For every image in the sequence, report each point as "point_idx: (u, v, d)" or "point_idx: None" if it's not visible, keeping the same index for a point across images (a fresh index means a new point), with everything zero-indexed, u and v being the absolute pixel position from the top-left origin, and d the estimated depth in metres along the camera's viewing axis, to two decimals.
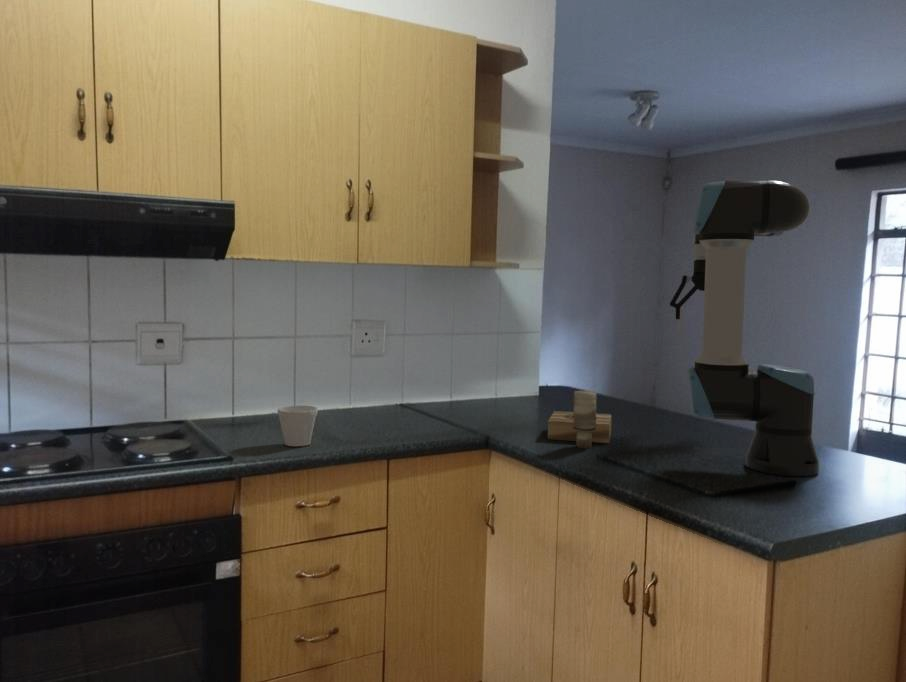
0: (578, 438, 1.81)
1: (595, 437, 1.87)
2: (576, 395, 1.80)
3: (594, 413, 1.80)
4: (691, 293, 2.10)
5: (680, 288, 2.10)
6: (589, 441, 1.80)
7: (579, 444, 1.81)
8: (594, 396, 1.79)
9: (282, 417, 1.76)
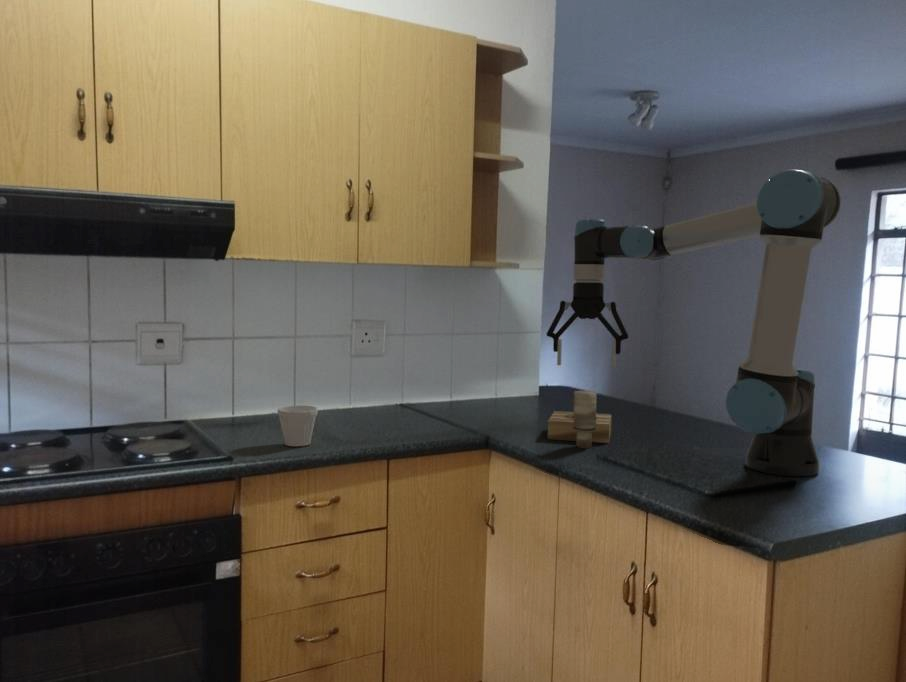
0: (578, 438, 1.81)
1: (595, 437, 1.87)
2: (576, 395, 1.80)
3: (594, 413, 1.80)
4: (570, 321, 1.80)
5: (557, 316, 1.80)
6: (589, 441, 1.80)
7: (579, 444, 1.81)
8: (594, 396, 1.79)
9: (282, 417, 1.76)
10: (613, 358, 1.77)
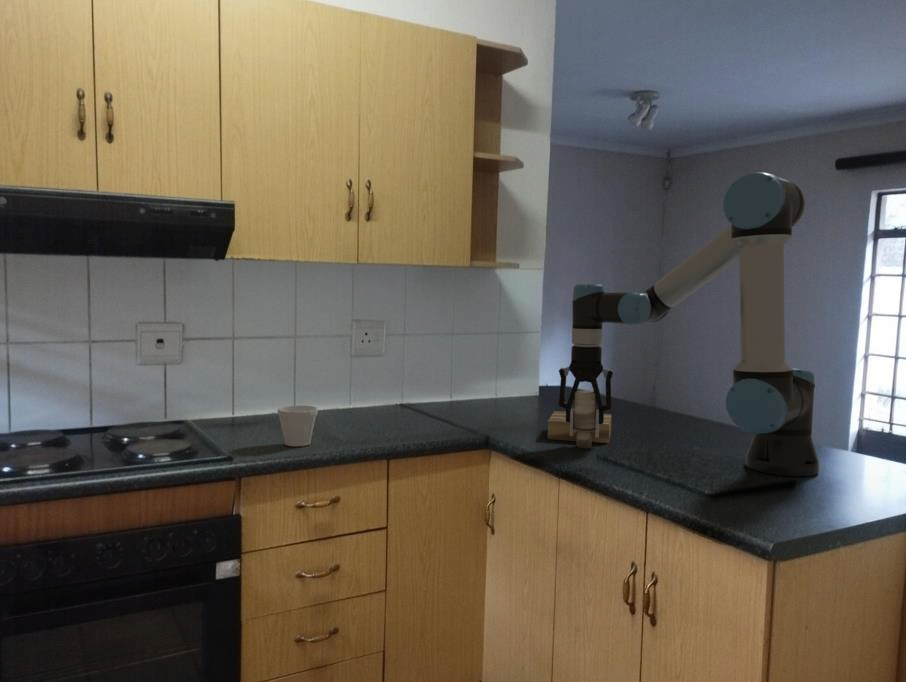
0: (578, 438, 1.81)
1: (595, 437, 1.87)
2: (576, 395, 1.80)
3: (594, 413, 1.80)
4: (575, 388, 1.80)
5: (562, 384, 1.81)
6: (589, 441, 1.80)
7: (579, 444, 1.81)
8: (594, 396, 1.79)
9: (282, 417, 1.76)
10: (596, 428, 1.80)
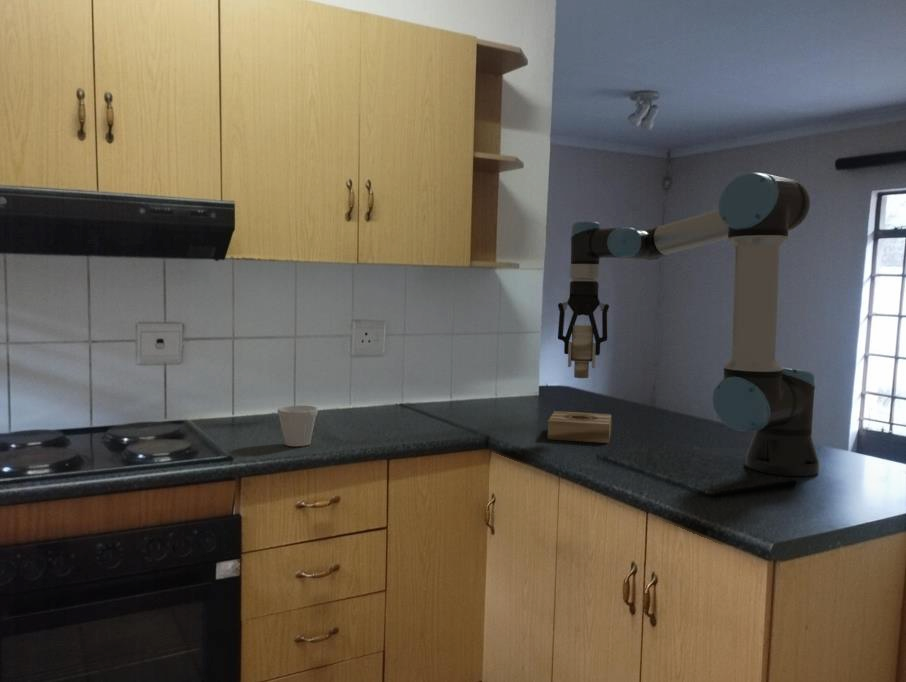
0: (576, 369, 1.91)
1: (595, 437, 1.87)
2: (574, 328, 1.89)
3: (591, 345, 1.89)
4: (573, 321, 1.90)
5: (561, 318, 1.91)
6: (586, 371, 1.90)
7: (576, 375, 1.91)
8: (591, 328, 1.89)
9: (282, 417, 1.76)
10: (593, 359, 1.90)
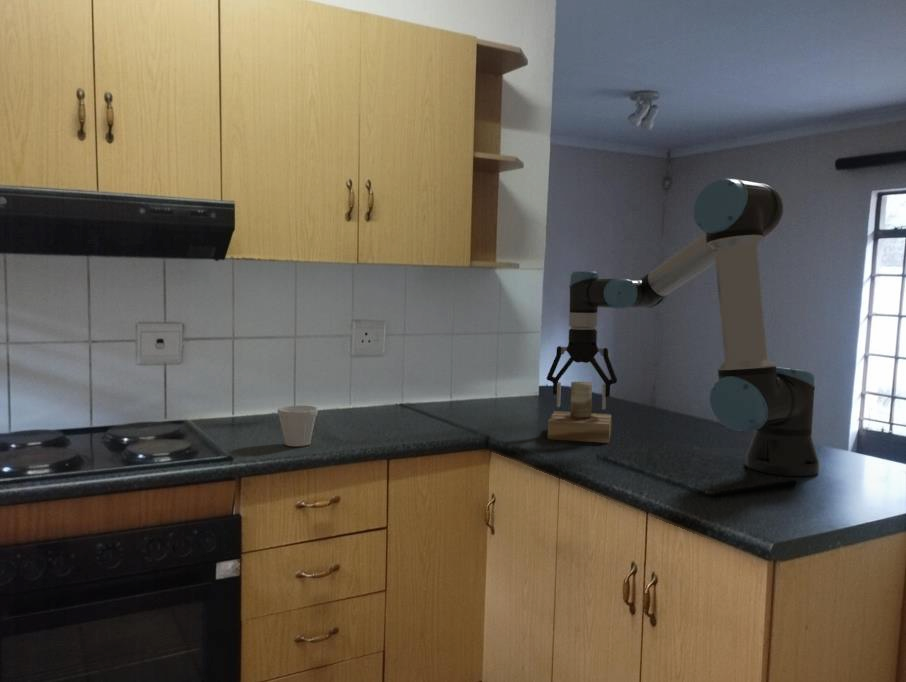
0: None
1: (595, 437, 1.87)
2: (573, 385, 1.93)
3: (590, 402, 1.93)
4: (567, 366, 1.94)
5: (555, 360, 1.95)
6: None
7: None
8: (590, 386, 1.93)
9: (282, 417, 1.76)
10: (603, 401, 1.92)
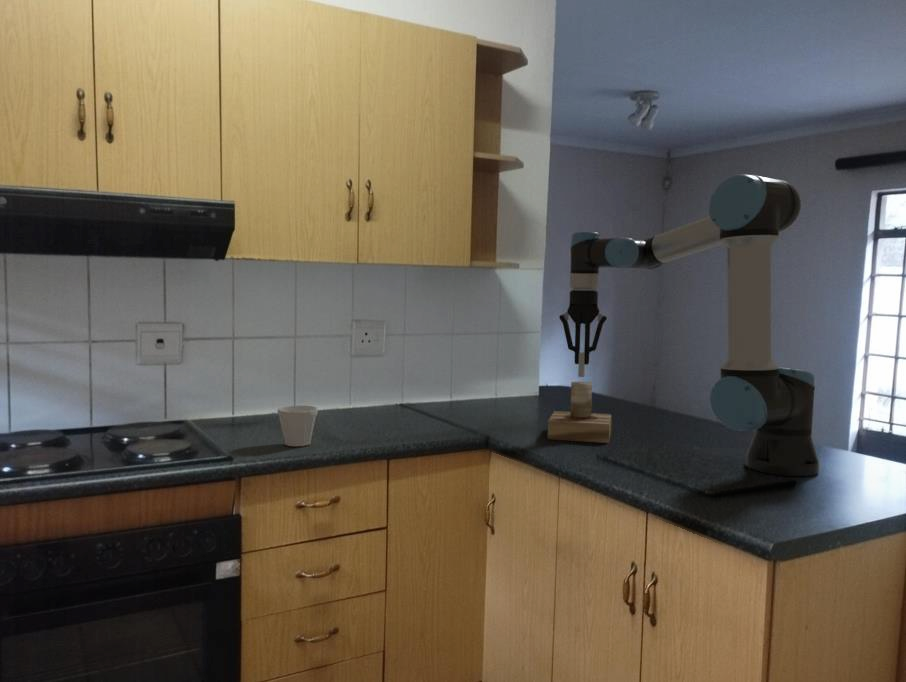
0: None
1: (595, 437, 1.87)
2: (573, 385, 1.93)
3: (590, 402, 1.93)
4: (578, 330, 1.92)
5: (565, 329, 1.93)
6: None
7: None
8: (590, 386, 1.93)
9: (282, 417, 1.76)
10: (582, 368, 1.93)
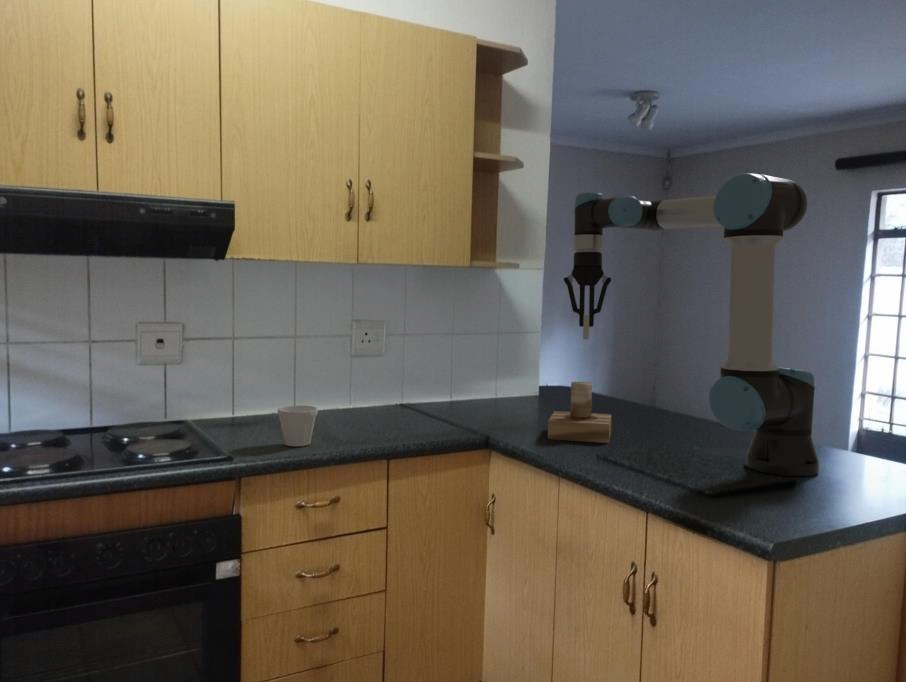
0: None
1: (595, 437, 1.87)
2: (573, 385, 1.93)
3: (590, 402, 1.93)
4: (582, 292, 1.92)
5: (570, 291, 1.93)
6: None
7: None
8: (590, 386, 1.93)
9: (282, 417, 1.76)
10: (587, 330, 1.92)
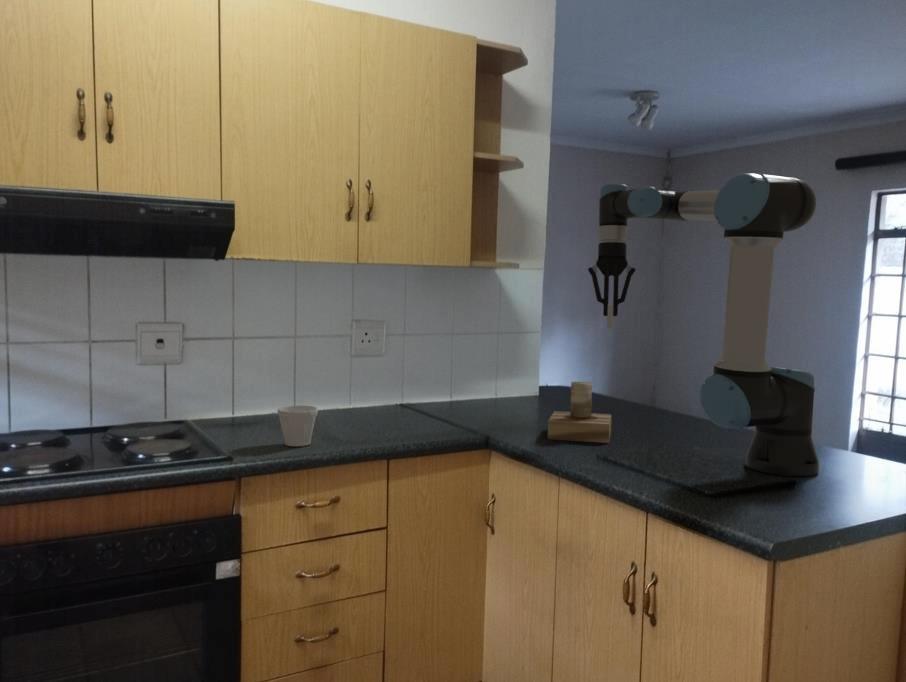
0: None
1: (595, 437, 1.87)
2: (573, 385, 1.93)
3: (590, 402, 1.93)
4: (607, 282, 1.95)
5: (594, 281, 1.96)
6: None
7: None
8: (590, 386, 1.93)
9: (282, 417, 1.76)
10: (611, 320, 1.95)
